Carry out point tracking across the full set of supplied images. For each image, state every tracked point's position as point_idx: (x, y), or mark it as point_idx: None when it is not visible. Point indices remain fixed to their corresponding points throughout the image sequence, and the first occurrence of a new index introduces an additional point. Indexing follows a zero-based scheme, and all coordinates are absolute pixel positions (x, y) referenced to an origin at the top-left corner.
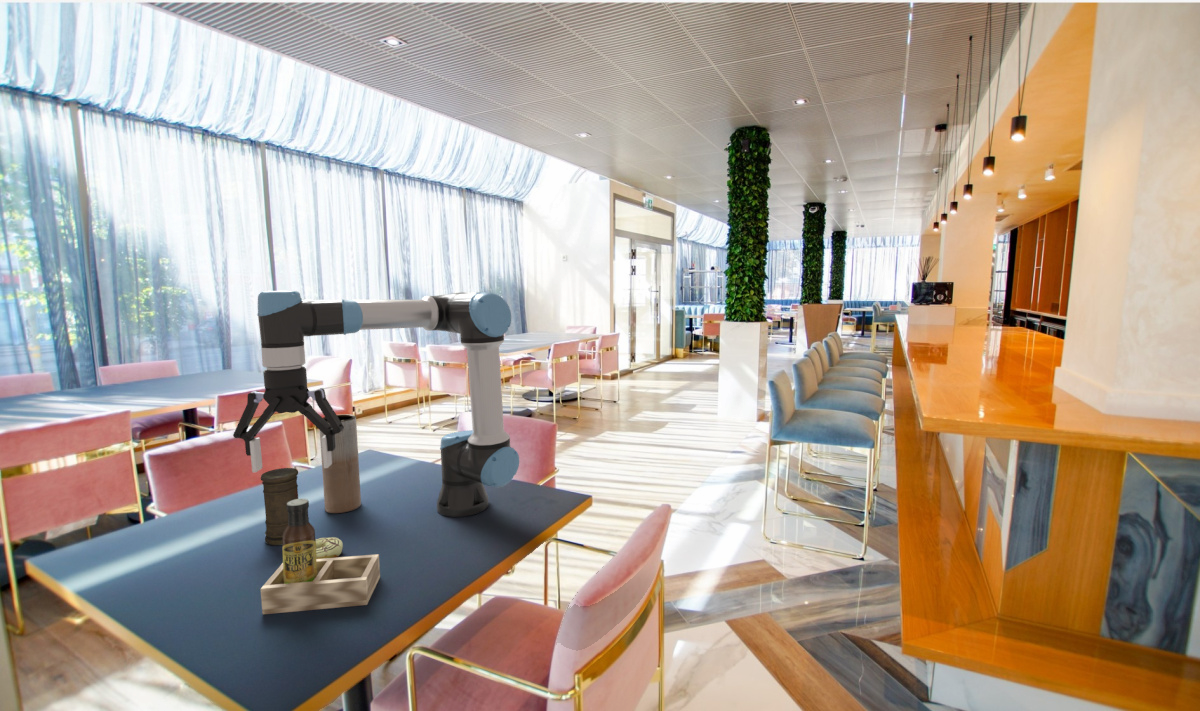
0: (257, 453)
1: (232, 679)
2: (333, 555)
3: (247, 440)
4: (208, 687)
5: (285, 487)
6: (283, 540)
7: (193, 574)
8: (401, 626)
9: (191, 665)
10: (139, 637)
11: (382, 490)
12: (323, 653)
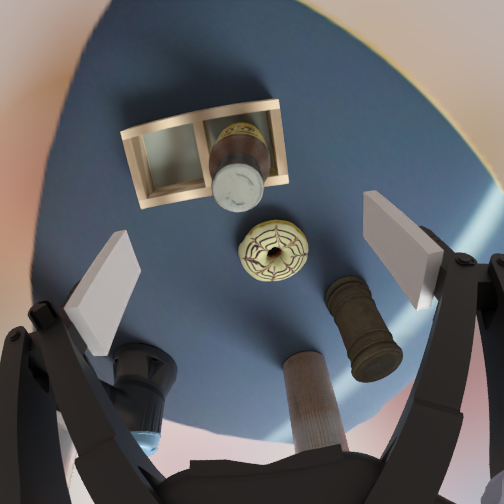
0: (392, 243)
1: None
2: (244, 239)
3: (453, 253)
4: None
5: (360, 343)
6: (260, 142)
7: (415, 207)
8: (73, 90)
9: (297, 5)
10: (397, 69)
11: (272, 397)
12: (140, 28)
